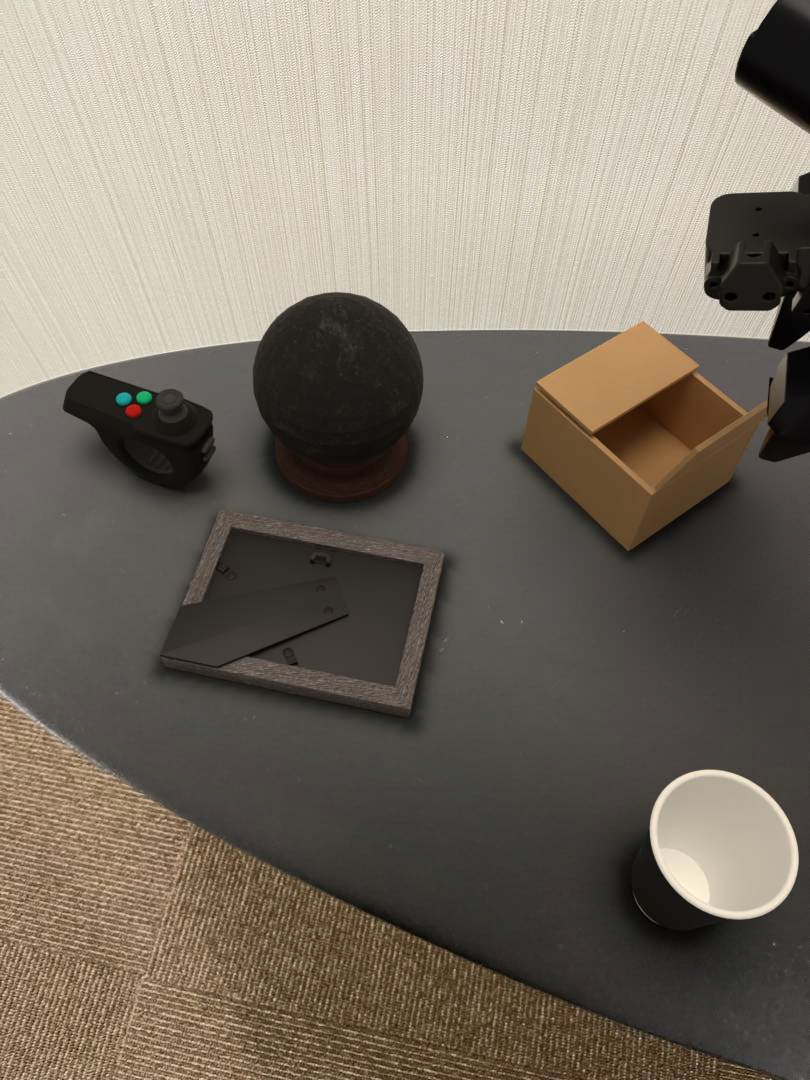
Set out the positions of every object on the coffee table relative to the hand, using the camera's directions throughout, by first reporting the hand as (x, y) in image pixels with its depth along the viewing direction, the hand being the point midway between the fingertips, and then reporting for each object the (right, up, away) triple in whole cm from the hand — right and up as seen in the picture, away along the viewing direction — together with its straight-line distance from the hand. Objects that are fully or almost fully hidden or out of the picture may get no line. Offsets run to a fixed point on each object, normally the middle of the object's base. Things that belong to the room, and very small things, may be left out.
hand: (771, 400), depth 57 cm
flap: (0, -1, +8) cm, 8 cm away
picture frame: (-30, -14, +12) cm, 35 cm away
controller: (-44, -3, +19) cm, 48 cm away
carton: (-4, -2, +21) cm, 21 cm away
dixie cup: (-6, -31, +1) cm, 32 cm away
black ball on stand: (-28, -1, +21) cm, 35 cm away
